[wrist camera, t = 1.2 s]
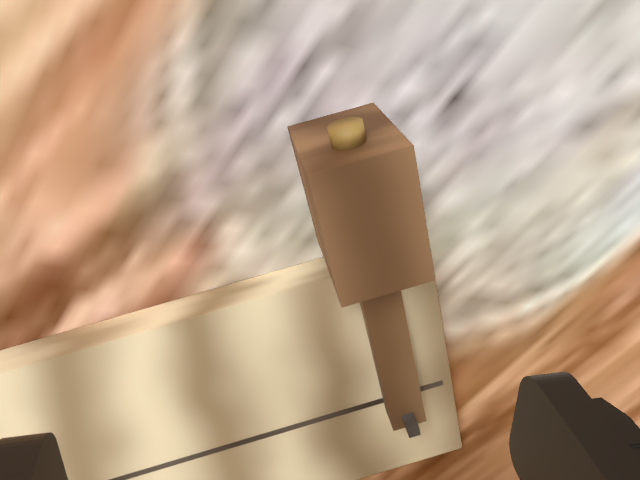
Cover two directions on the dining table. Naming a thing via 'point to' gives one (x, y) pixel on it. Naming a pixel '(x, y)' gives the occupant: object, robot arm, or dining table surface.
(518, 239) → the dining table surface
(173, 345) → the board
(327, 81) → the dining table surface
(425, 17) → the dining table surface
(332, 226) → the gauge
